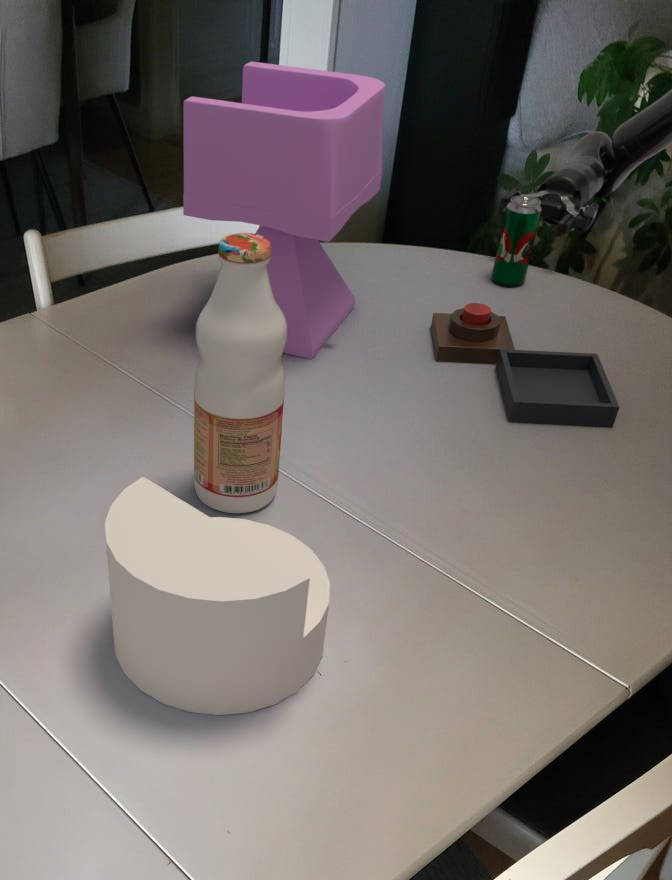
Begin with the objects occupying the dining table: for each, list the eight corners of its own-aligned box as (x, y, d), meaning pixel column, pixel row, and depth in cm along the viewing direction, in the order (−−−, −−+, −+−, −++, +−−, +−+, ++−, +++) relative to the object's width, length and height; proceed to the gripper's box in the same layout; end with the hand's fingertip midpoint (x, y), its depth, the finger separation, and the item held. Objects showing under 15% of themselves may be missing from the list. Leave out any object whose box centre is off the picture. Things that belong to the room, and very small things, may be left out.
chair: (241, 280, 150) (249, 60, 130) (364, 306, 144) (393, 78, 123) (183, 334, 137) (182, 99, 117) (316, 365, 131) (340, 122, 110)
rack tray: (591, 372, 130) (597, 353, 128) (612, 427, 120) (619, 407, 118) (495, 368, 130) (499, 348, 129) (508, 421, 121) (513, 401, 119)
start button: (486, 315, 134) (489, 303, 133) (490, 327, 131) (492, 315, 130) (460, 314, 134) (462, 302, 133) (462, 326, 131) (465, 314, 130)
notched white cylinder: (367, 637, 93) (386, 525, 83) (219, 751, 83) (222, 638, 73) (217, 544, 103) (219, 435, 94) (70, 635, 93) (56, 522, 84)
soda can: (527, 277, 151) (546, 197, 143) (520, 290, 148) (540, 209, 140) (494, 271, 153) (511, 192, 144) (487, 284, 149) (504, 203, 141)
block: (501, 330, 138) (508, 303, 136) (511, 364, 131) (518, 336, 128) (430, 327, 139) (435, 300, 136) (436, 361, 132) (441, 333, 129)
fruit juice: (176, 491, 110) (173, 242, 91) (233, 458, 115) (241, 215, 95) (237, 526, 105) (248, 271, 86) (294, 490, 110) (316, 241, 91)
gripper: (529, 160, 159) (493, 189, 150) (617, 176, 154) (585, 208, 144) (519, 207, 165) (483, 238, 155) (603, 225, 159) (571, 258, 149)
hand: (532, 223), depth 149 cm, fingers open, 8 cm apart
